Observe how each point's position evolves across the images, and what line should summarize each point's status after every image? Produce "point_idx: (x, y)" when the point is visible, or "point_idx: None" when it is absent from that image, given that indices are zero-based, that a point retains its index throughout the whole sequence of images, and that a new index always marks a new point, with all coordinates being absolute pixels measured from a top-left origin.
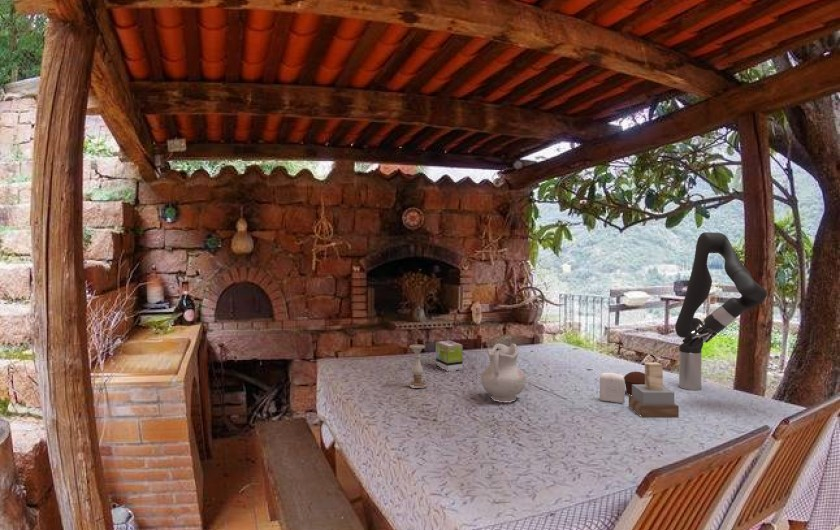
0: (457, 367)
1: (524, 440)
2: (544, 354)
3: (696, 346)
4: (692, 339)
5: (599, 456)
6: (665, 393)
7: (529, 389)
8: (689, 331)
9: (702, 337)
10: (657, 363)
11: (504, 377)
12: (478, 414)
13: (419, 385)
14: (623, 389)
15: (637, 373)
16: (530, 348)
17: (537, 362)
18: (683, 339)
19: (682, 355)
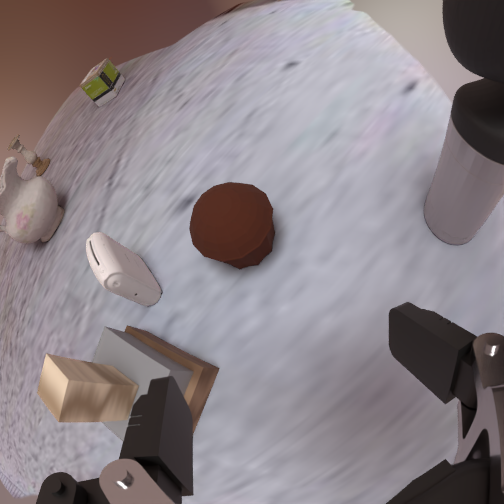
0: (107, 97)
1: (4, 372)
2: (279, 18)
3: (401, 361)
4: (187, 489)
5: (25, 450)
6: (121, 437)
7: (98, 179)
8: (46, 500)
9: (471, 426)
10: (60, 393)
11: (8, 232)
12: (13, 277)
13: (38, 172)
14: (127, 295)
15: (207, 217)
16: (281, 6)
17: (234, 45)
18: (149, 387)
19: (452, 139)
